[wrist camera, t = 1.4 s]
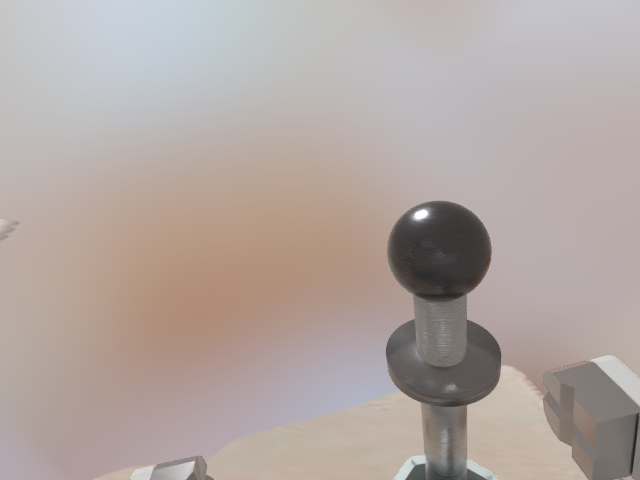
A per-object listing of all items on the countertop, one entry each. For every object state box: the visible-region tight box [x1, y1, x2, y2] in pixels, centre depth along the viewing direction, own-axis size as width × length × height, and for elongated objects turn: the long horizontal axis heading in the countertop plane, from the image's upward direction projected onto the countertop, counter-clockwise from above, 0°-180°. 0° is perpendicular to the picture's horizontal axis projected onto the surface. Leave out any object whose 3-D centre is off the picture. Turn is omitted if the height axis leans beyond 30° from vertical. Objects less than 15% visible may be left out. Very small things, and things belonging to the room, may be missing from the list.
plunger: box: [386, 201, 501, 480], centre depth 26 cm, size 6×6×26 cm
